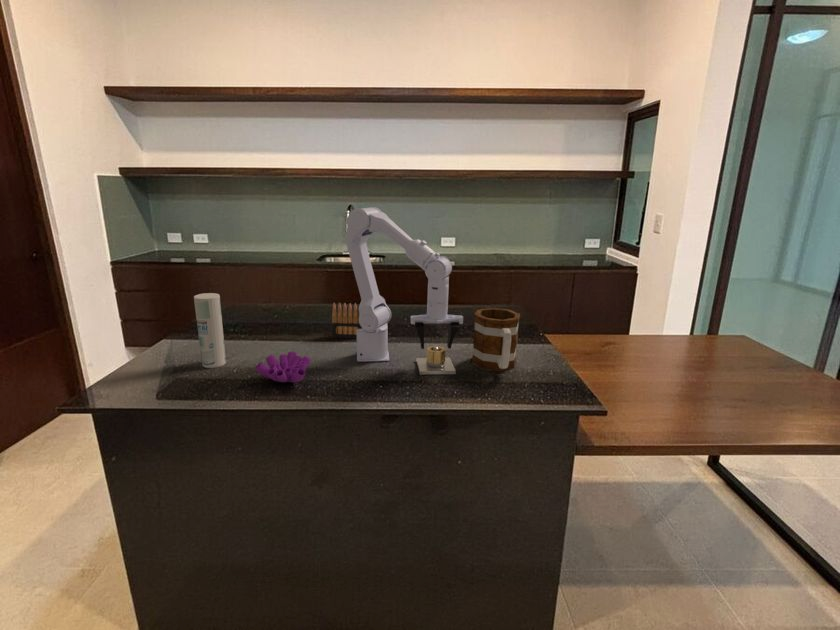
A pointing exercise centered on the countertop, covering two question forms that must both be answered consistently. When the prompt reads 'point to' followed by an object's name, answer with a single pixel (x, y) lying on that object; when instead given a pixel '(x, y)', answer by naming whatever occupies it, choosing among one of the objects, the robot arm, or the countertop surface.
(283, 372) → the purple tube coral
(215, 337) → the spray can
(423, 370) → the piston stand
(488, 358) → the mug
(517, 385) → the countertop surface
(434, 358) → the brass ring
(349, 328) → the ammunition clip
